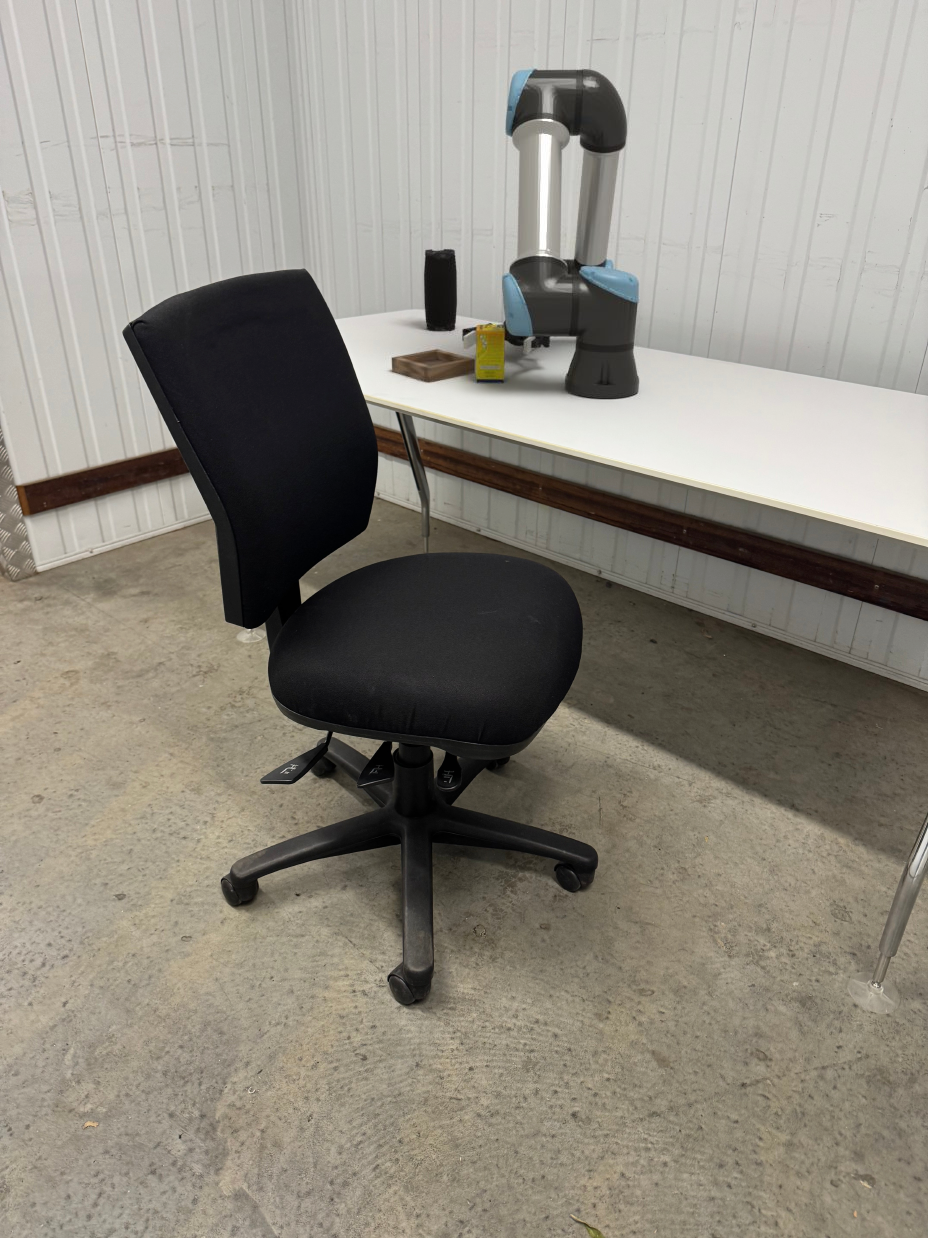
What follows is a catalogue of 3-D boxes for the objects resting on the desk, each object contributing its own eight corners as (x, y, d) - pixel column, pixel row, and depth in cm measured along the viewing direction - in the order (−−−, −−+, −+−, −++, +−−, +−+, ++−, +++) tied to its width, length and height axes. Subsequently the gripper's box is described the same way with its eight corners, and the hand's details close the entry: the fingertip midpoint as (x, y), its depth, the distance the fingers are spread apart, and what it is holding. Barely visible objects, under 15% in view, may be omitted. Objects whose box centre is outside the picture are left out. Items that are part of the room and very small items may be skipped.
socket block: (474, 372, 196) (475, 358, 194) (429, 382, 188) (428, 368, 187) (437, 362, 204) (437, 348, 203) (392, 371, 197) (391, 357, 195)
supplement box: (476, 376, 193) (476, 323, 188) (503, 376, 193) (504, 324, 188) (475, 382, 188) (476, 329, 183) (503, 383, 188) (505, 329, 183)
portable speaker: (453, 324, 243) (453, 247, 234) (459, 331, 235) (459, 252, 226) (422, 325, 242) (421, 248, 232) (427, 332, 234) (426, 252, 224)
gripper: (573, 346, 207) (550, 367, 189) (471, 339, 214) (440, 358, 197) (575, 313, 203) (552, 330, 186) (471, 306, 210) (440, 323, 193)
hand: (494, 345), depth 191 cm, fingers open, 13 cm apart
